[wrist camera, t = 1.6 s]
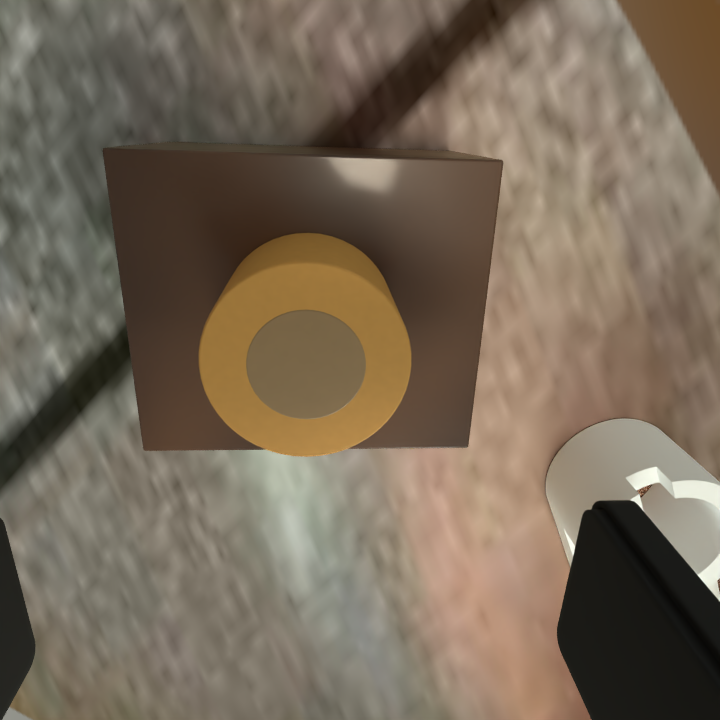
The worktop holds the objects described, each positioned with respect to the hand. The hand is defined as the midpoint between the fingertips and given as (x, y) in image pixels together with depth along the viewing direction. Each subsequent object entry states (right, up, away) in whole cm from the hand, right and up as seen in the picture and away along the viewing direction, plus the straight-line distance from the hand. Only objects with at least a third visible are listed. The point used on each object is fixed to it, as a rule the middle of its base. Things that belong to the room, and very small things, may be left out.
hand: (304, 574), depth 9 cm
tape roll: (-1, +5, +13) cm, 14 cm away
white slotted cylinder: (+20, -9, +30) cm, 37 cm away
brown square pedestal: (-2, +9, +21) cm, 23 cm away
